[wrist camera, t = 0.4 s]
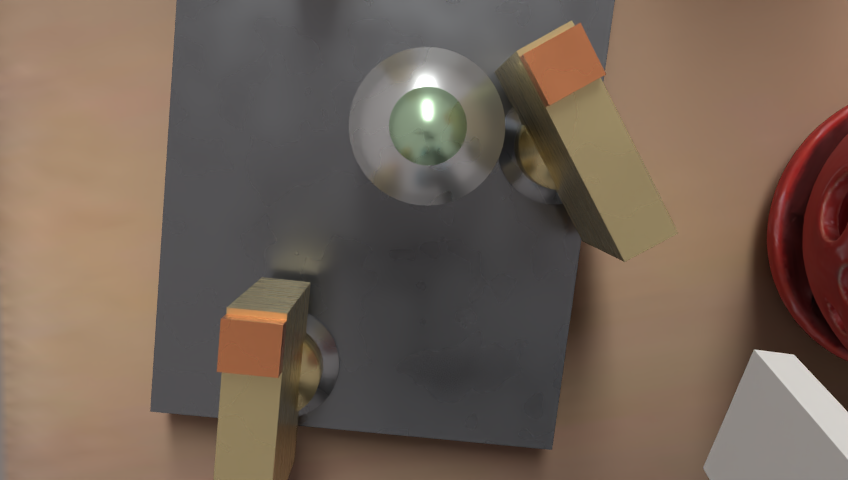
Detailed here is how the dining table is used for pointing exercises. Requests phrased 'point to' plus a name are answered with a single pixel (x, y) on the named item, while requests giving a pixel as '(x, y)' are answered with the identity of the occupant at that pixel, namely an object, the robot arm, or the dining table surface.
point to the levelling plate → (369, 210)
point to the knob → (264, 380)
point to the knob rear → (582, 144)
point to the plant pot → (814, 235)
